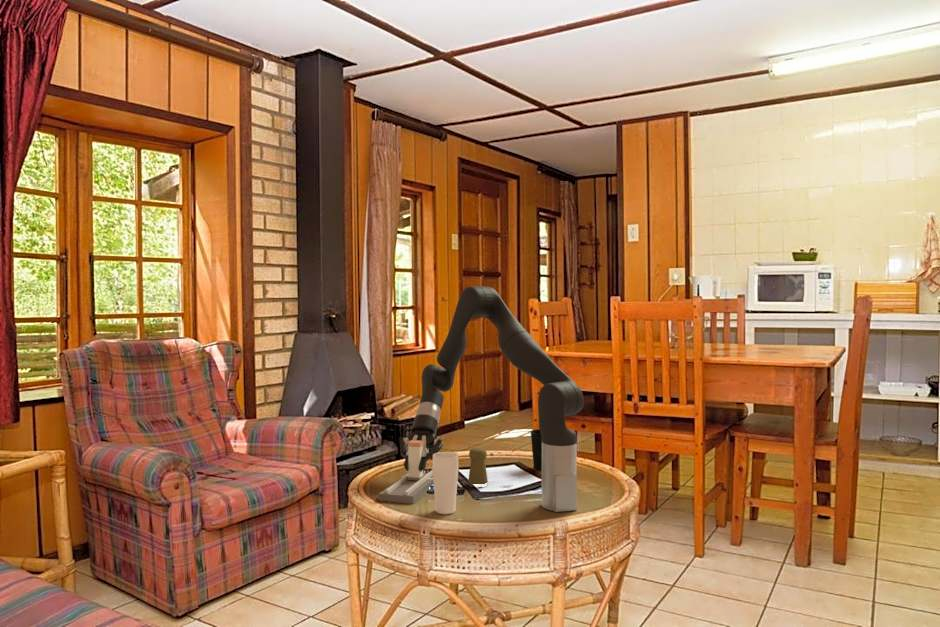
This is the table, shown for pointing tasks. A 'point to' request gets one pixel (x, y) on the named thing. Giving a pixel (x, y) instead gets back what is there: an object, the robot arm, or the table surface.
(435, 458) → the drinking glass
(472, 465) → the cork
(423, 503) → the table surface
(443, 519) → the table surface
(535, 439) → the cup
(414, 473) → the fader tab
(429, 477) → the fader board
